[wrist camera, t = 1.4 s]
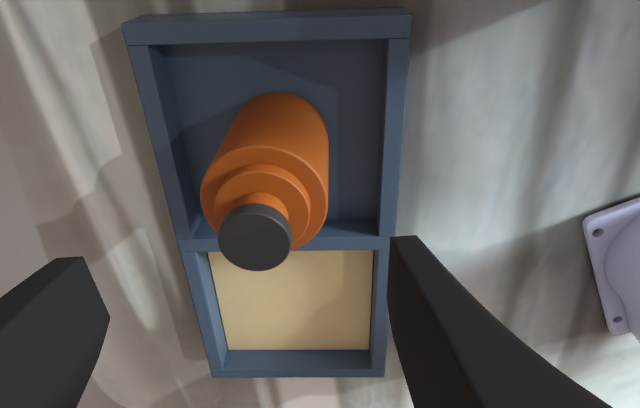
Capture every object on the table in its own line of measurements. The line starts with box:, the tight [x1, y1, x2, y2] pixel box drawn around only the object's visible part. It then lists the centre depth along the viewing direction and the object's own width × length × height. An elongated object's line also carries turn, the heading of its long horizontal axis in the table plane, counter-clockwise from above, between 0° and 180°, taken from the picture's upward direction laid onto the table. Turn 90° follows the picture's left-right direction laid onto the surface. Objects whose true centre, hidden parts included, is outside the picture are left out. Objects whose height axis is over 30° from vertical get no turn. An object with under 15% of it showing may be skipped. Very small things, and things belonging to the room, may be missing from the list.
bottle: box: [200, 92, 329, 271], centre depth 16 cm, size 4×4×8 cm
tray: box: [121, 7, 412, 377], centre depth 22 cm, size 20×11×2 cm, turn 2°
